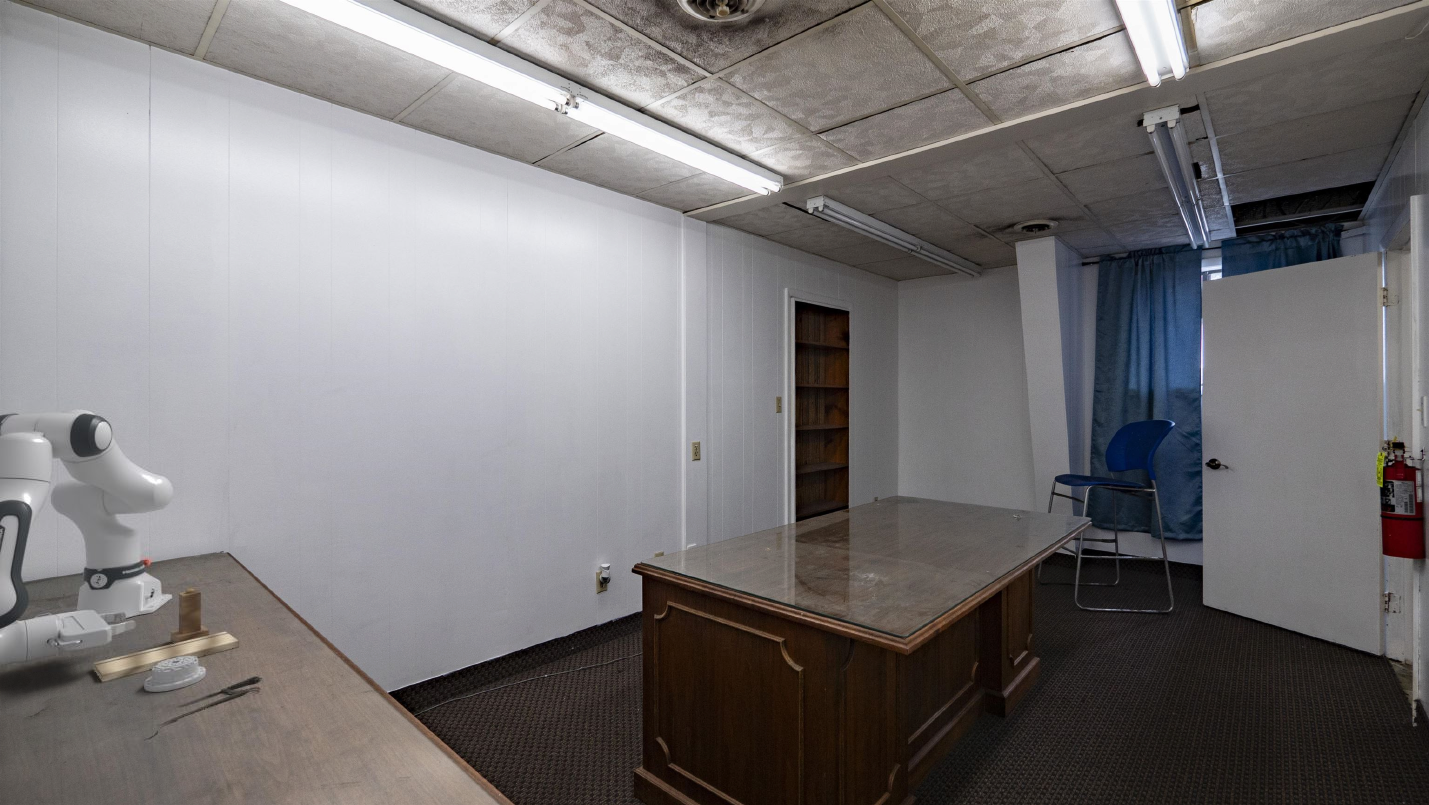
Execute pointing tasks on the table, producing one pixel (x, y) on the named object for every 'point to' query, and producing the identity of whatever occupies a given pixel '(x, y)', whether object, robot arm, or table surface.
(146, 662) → the plank
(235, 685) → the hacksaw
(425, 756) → the table surface
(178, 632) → the wooden peg post
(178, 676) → the mechanical component
